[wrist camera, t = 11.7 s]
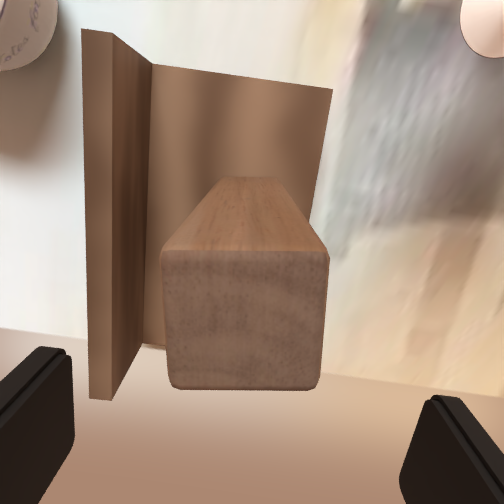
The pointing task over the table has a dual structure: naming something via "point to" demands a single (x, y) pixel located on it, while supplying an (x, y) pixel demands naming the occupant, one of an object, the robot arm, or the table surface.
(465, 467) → the robot arm
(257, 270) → the wooden block
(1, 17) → the teacup
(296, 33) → the table surface
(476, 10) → the champagne flute
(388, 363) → the table surface
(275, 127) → the walnut shelf
